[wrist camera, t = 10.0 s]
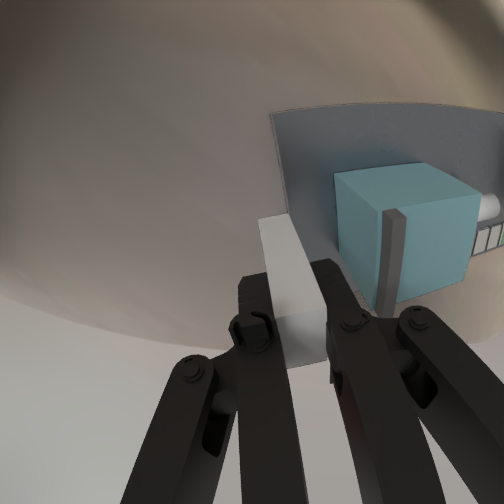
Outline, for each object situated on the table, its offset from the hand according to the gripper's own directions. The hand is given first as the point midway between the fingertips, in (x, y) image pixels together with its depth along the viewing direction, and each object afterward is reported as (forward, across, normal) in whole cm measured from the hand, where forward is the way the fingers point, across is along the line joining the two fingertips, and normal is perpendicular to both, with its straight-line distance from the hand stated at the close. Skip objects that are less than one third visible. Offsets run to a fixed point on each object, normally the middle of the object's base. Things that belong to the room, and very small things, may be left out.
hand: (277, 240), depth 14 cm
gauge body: (+1, +9, 0) cm, 9 cm away
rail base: (+3, +15, 0) cm, 15 cm away
